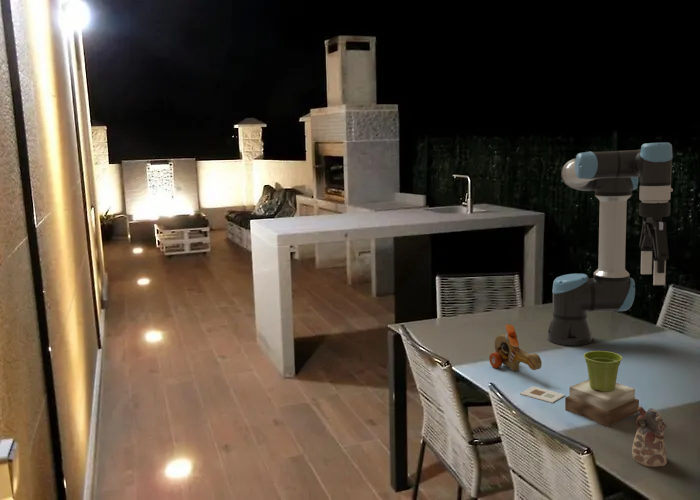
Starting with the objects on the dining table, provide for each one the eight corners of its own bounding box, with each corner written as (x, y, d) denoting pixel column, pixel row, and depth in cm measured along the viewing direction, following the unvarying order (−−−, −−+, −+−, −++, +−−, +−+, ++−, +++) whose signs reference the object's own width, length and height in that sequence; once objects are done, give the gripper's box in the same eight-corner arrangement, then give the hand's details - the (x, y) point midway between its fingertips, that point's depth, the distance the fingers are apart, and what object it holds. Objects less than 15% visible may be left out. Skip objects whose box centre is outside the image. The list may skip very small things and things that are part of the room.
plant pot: (577, 382, 172) (577, 351, 171) (610, 379, 173) (611, 349, 172) (593, 395, 163) (593, 363, 162) (628, 393, 164) (629, 360, 163)
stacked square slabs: (565, 409, 171) (565, 386, 170) (595, 397, 178) (595, 375, 177) (608, 426, 160) (608, 401, 159) (638, 412, 167) (639, 388, 166)
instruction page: (520, 394, 183) (520, 392, 183) (533, 387, 188) (533, 385, 188) (552, 403, 176) (552, 401, 176) (564, 395, 180) (564, 394, 180)
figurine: (660, 470, 139) (662, 418, 137) (627, 460, 143) (628, 410, 141) (671, 457, 144) (673, 407, 142) (638, 448, 148) (639, 399, 146)
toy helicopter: (507, 360, 211) (507, 320, 209) (550, 380, 192) (550, 336, 190) (486, 364, 208) (486, 324, 206) (528, 385, 189) (528, 340, 187)
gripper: (684, 205, 158) (681, 289, 161) (657, 196, 182) (655, 269, 185) (651, 206, 159) (649, 289, 163) (629, 197, 183) (627, 270, 187)
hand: (652, 279), depth 174 cm, fingers open, 13 cm apart
